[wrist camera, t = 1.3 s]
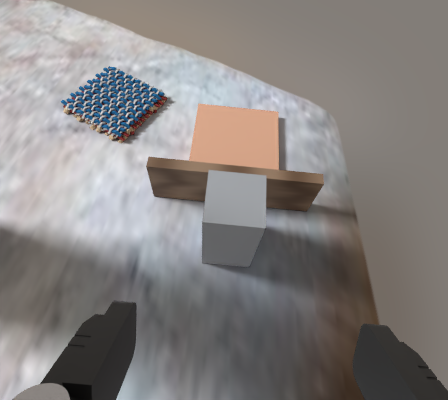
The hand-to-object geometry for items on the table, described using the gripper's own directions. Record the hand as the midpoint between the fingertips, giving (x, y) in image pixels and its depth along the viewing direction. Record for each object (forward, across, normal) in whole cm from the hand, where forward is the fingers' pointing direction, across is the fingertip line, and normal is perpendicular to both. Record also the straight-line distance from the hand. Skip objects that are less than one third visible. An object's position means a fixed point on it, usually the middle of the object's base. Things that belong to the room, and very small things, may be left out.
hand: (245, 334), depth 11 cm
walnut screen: (+27, 0, +2) cm, 27 cm away
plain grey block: (+23, 0, +6) cm, 24 cm away
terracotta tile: (+32, 0, -4) cm, 33 cm away
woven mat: (+36, +17, -7) cm, 41 cm away
